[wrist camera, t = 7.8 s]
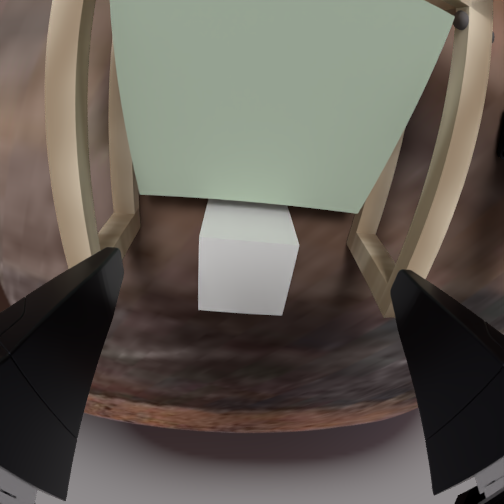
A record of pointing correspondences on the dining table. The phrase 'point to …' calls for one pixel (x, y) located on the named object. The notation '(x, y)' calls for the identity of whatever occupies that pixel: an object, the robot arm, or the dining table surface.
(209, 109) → the trapdoor
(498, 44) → the dining table surface
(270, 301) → the plain light gray cube
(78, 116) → the trapdoor frame
